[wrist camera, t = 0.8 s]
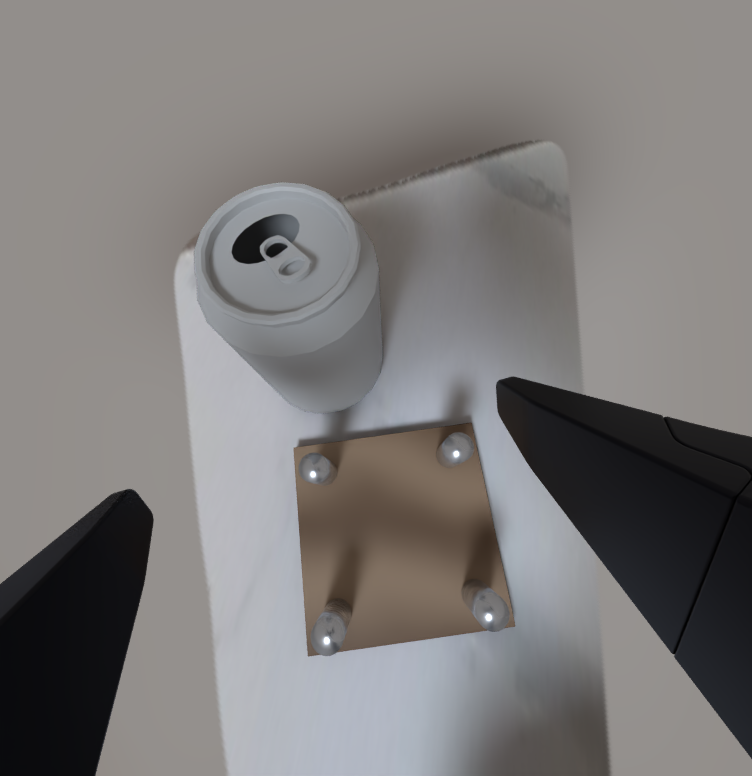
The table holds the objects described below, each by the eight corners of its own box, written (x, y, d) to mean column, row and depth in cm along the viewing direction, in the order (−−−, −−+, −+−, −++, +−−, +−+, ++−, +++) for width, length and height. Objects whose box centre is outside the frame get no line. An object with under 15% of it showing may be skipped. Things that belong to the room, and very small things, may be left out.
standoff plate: (511, 622, 20) (541, 651, 16) (310, 651, 20) (291, 688, 16) (469, 424, 23) (485, 409, 19) (295, 449, 23) (277, 438, 19)
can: (339, 293, 26) (302, 134, 15) (405, 371, 25) (420, 257, 13) (250, 353, 25) (137, 231, 14) (312, 440, 23) (239, 381, 12)
